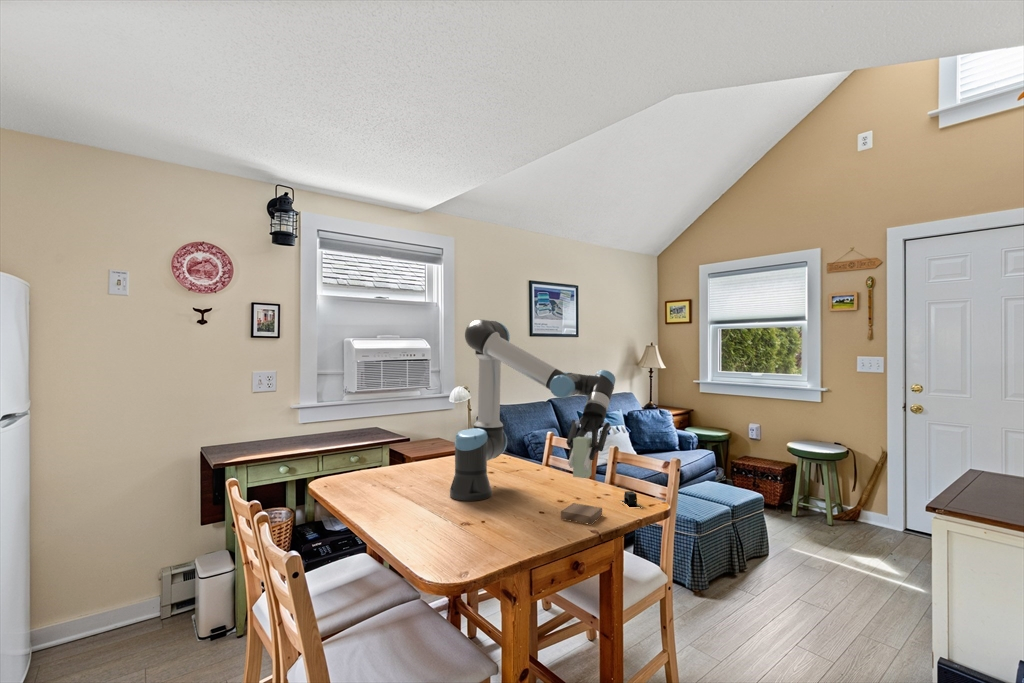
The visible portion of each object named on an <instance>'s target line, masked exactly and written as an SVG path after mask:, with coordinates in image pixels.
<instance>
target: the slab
mask: <svg viewBox="0 0 1024 683" xmlns="http://www.w3.org/2000/svg"><path fill="white" fill-rule="evenodd" d="M601 515H602V516H603V507H599V506H593V505H587V504H582V503H576V502H573V503H571V504H570V505H568V506H567V507H565V508H564V509H562V510H561V511H560V520H562V519H566V520H565V521H567V520H571V521H570V522H572V521H577V522H582V523H581V524H583V523H588V524H592V523H593V522H594V521H595V520H597V519H598V518H599V517H600V516H601ZM602 516H601V517H602ZM601 517H600V518H601ZM600 518H599V519H600ZM599 519H598V520H599ZM598 520H597V521H598ZM577 522H576V523H577ZM595 522H596V521H595ZM595 522H594V523H595ZM594 523H593V524H594ZM588 524H587V525H588ZM593 524H592V525H593Z"/></svg>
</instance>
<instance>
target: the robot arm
mask: <svg viewBox="0 0 1024 683" xmlns="http://www.w3.org/2000/svg"><path fill="white" fill-rule="evenodd" d="M510 336H511V335H510V332H509V329H508V328H507V327H506V326H505V325H504V324H503V323H501V322H498V321H496V320H487V319H475V320H473V321H471V322H470V323H469V324H468V325H467V326H466V328H465V332H464V340H465V342H466V343H467V345H468V346H469V348H471V349H473V350H474V351H475V353H474V354H475V357H477V358H478V390H477V391H478V393H477V394H478V396H477V398H478V399H477V420H476V421H475V422H474V423H473V428H468V429H462V430H459V431H458V432H457V434H455V439H454V441H455V442H454V477H453V479H452V482H451V484H450V489H449V496H450V498H452V499H454V500H457V501H463V502H475V501H482V500H487V499H488V498H490V497H491V496H492V487H491V483H490V480H489V477H488V472H487V471H488V468H487V467H488V461H490V460H492V459H497V458H498V457H499V456H501V455H502V454H503V453H504V452H505V450H506V449H507V446H508V436H507V434H506V433H505V431H504V424H503V422H501V420H500V412H501V411H500V410H501V408H500V406H501V373H502V372H501V370H502V369H501V366H502V364H501V363H503V364H505V365H506V366H508V367H510V368H512V369H513V370H515V371H517V372H518V373H520V374H522V375H524V376H525V377H528V379H530V380H532V381H533V382H536V383H537V384H539V385H540V386H543V387H545V389H548V390H550V393H551V394H552V395H553V396H554V397H557V398H561V399H566V398H569V397H572V396H575V395H577V396H585V397H587V399H586V402H585V406H584V409H583V411H582V415H581V417H580V419H579V420H575V419H572V420H571V422H570V423H571V426H570V430H569V432H568V435H567V439H566V442H565V443H566V445H567V447H568V448H569V451H568V457H569V459H568V461H567V465H568V467H569V469H573V439H574V438H576V437H585V435H587V434H588V433H591V438H592V446H591V447H592V449H591V448H589V449H588V452H587V455H586V459H585V462H584V467H585V469H586V470H588V469H589V465H590V462H591V460H592V461H594V460H595V457H596V454H597V452H603V451H604V448H605V444H606V441H607V438H608V435H609V432H610V431H611V429H612V426H611V423H610V422H608V421H607V422H605V419H606V415H607V412H608V408H609V405H610V402H611V399H612V398H611V397H612V395H613V392H614V390H615V385H616V376H615V375H614V373H612V372H611V371H609V370H605V369H601V370H598V371H596V373H595V374H594V375H593V374H592V375H591V374H590V375H589V374H588V375H587V374H580V373H574V372H563V371H561V370H560V369H558V368H557V367H554V366H553V365H551V364H549V363H548V362H546V361H544V360H542V359H540V358H538V357H536V356H535V355H534V354H531V353H530V352H528V351H526V350H524V349H522V348H520V347H519V346H517V345H516V344H514V343H512V342H510ZM579 425H580V426H579ZM578 428H579V430H578ZM601 428H602V430H601ZM599 430H601V433H600V435H599ZM598 436H599V440H598Z"/></svg>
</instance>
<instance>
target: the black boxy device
mask: <svg viewBox="0 0 1024 683" xmlns="http://www.w3.org/2000/svg"><path fill="white" fill-rule="evenodd" d="M623 498H624V499H623V500H621V501H622V502H624V503H625V504H627V505H628V506H629V507H640V508H641V507H642V506H641V505H640V504H639V503H638V496H637V493H636V492H634V491H633V490H631V491H628V490H627V491H624V495H623ZM638 504H639V505H638ZM641 509H642V508H641Z"/></svg>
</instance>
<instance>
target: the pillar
mask: <svg viewBox="0 0 1024 683" xmlns="http://www.w3.org/2000/svg"><path fill="white" fill-rule="evenodd" d="M575 437H576V436H575ZM591 446H592V437H587V436H586V437H585V436H584V437H576V438H574V439H573V468H572V477H573V478H580V479H588V478H589V477H591V476H592V466H593V465H592V463H593V462H592V461H593V460H591V462H590V465H589V469H588V470H586V469H585V467H584V462H585V459H586V455H587V452H588V449H589V448H591V449H592V447H591Z"/></svg>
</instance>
